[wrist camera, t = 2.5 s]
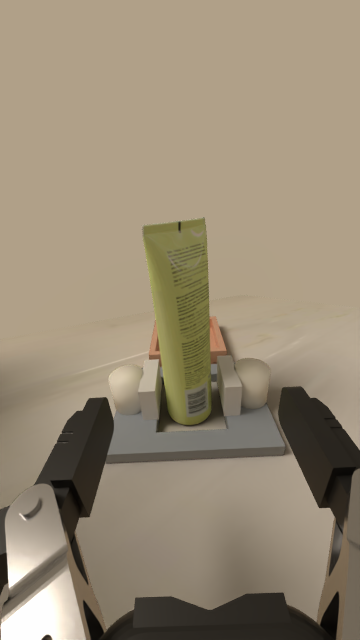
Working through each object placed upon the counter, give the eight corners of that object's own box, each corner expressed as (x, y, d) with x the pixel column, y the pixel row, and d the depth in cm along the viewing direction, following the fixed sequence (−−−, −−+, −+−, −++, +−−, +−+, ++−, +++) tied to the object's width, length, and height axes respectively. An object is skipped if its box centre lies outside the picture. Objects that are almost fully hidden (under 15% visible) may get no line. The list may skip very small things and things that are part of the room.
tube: (167, 390, 29) (147, 219, 20) (207, 386, 29) (205, 215, 20) (167, 430, 24) (141, 225, 15) (216, 425, 24) (218, 219, 15)
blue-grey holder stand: (102, 463, 21) (89, 425, 19) (128, 375, 32) (121, 344, 30) (286, 454, 21) (295, 415, 19) (250, 369, 32) (252, 337, 29)
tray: (150, 369, 33) (148, 354, 32) (156, 331, 42) (155, 320, 41) (226, 364, 33) (226, 350, 32) (215, 328, 42) (215, 316, 41)
